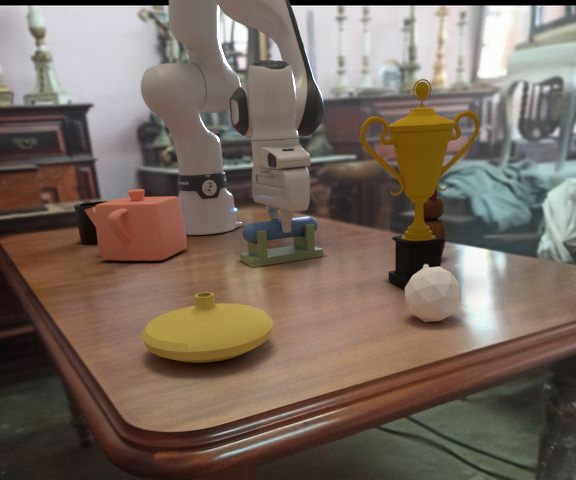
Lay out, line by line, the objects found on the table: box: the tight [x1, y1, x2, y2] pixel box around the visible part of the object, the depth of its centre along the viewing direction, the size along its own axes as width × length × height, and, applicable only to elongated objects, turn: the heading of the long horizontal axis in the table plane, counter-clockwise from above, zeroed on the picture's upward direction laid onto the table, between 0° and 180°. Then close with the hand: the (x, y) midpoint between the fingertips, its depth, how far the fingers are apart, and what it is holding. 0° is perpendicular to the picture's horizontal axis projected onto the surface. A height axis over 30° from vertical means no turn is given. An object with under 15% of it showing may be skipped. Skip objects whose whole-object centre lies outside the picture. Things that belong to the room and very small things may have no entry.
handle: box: [242, 215, 318, 243], centre depth 114 cm, size 16×4×4 cm, turn 114°
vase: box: [141, 291, 274, 364], centre depth 70 cm, size 16×16×7 cm
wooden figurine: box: [423, 188, 447, 257], centre depth 106 cm, size 7×6×15 cm
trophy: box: [359, 78, 481, 290], centre depth 89 cm, size 19×10×30 cm, turn 105°
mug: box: [74, 200, 109, 245], centre depth 145 cm, size 9×12×9 cm
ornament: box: [404, 264, 462, 323], centre depth 77 cm, size 7×7×8 cm
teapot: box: [85, 188, 188, 262], centre depth 124 cm, size 20×22×14 cm
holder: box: [239, 224, 324, 268], centre depth 115 cm, size 7×15×6 cm, turn 114°
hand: (280, 230), depth 114 cm, fingers closed on handle, 3 cm apart
